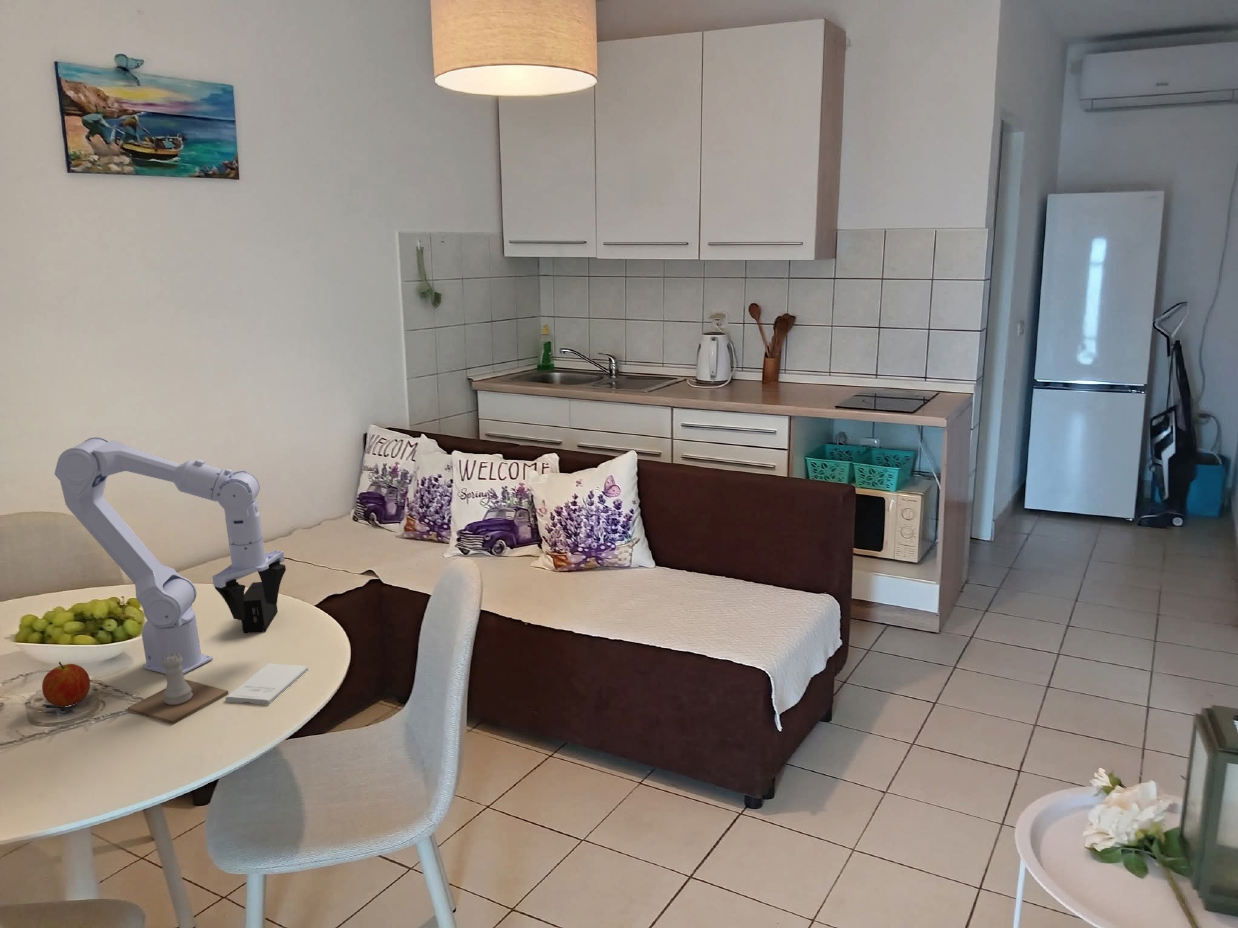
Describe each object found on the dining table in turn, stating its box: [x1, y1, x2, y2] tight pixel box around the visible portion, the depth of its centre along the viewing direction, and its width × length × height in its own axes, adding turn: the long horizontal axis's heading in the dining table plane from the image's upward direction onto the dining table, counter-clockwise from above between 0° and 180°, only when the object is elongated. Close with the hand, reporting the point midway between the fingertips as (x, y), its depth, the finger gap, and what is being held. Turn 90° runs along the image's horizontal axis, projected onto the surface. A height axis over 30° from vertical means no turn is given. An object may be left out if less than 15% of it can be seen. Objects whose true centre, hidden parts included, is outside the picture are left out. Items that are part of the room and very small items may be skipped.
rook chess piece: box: [162, 653, 193, 705], centre depth 157 cm, size 4×4×8 cm
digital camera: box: [240, 581, 279, 635], centre depth 189 cm, size 10×5×7 cm, turn 6°
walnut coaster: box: [127, 678, 229, 725], centre depth 158 cm, size 11×11×1 cm
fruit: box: [41, 661, 91, 708], centre depth 158 cm, size 7×7×8 cm
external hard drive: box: [224, 662, 309, 706], centre depth 163 cm, size 2×8×12 cm
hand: (255, 610), depth 172 cm, fingers open, 7 cm apart
